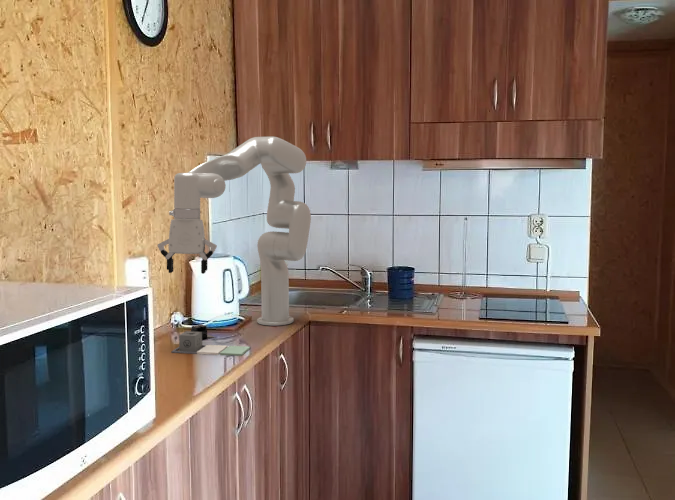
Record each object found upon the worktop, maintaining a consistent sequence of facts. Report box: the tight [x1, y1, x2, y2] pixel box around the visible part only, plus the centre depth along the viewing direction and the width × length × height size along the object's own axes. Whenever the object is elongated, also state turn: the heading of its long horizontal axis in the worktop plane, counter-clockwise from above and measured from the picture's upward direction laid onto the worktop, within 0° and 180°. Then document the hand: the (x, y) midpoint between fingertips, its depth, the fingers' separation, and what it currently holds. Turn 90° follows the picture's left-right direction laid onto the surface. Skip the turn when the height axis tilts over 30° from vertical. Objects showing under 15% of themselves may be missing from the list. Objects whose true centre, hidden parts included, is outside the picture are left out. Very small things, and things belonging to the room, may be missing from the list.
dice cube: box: [178, 330, 203, 352], centre depth 205 cm, size 5×5×5 cm
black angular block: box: [190, 324, 217, 341], centre depth 219 cm, size 12×7×5 cm, turn 133°
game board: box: [171, 344, 251, 357], centre depth 204 cm, size 8×21×1 cm, turn 80°
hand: (187, 272), depth 206 cm, fingers open, 9 cm apart
